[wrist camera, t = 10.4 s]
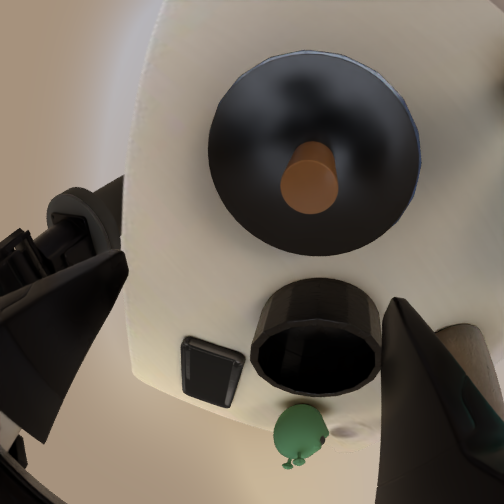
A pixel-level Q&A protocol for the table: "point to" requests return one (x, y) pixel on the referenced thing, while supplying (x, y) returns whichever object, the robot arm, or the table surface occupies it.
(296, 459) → the alien toy
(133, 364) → the table surface
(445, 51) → the table surface
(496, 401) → the pillar candle
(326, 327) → the tin
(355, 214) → the lid
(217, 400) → the phone
